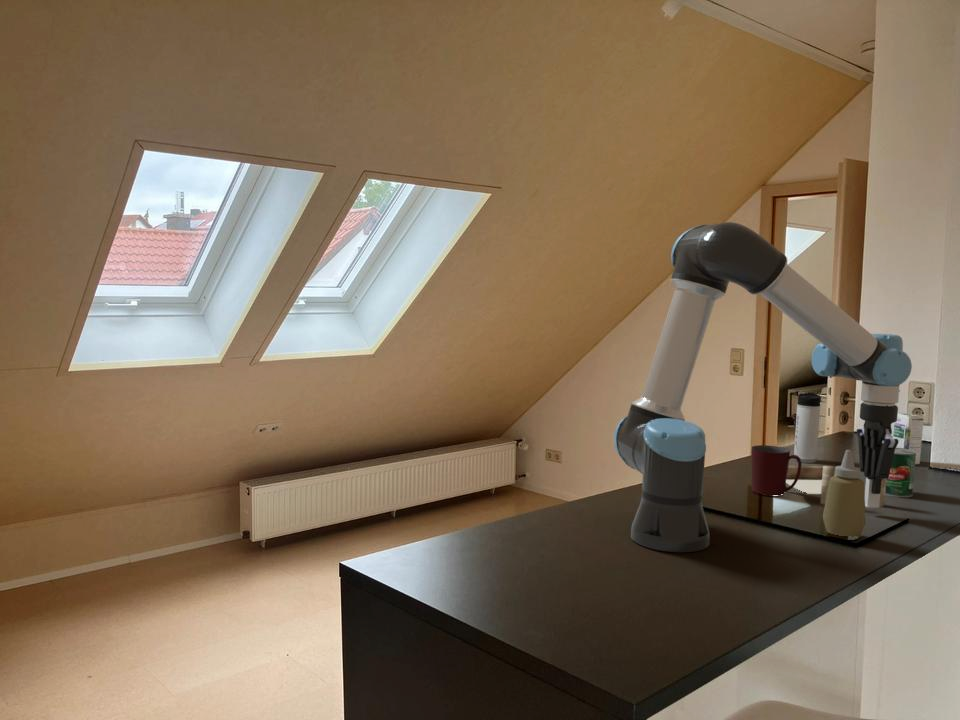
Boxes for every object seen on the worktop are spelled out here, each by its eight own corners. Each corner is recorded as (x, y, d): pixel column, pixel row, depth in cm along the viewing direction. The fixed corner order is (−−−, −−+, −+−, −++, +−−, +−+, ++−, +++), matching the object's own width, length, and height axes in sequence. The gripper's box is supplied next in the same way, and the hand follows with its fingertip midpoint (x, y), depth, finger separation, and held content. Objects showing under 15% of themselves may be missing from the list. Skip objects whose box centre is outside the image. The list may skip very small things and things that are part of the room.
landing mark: (805, 494, 196) (805, 493, 196) (781, 480, 210) (781, 479, 210) (860, 494, 197) (860, 494, 197) (832, 480, 211) (832, 480, 211)
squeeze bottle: (869, 545, 158) (876, 456, 156) (826, 541, 160) (832, 453, 158) (858, 532, 166) (864, 447, 164) (817, 529, 168) (823, 445, 166)
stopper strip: (774, 478, 212) (774, 467, 212) (770, 476, 214) (771, 465, 214) (832, 479, 213) (833, 468, 213) (828, 477, 215) (829, 466, 215)
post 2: (875, 506, 187) (878, 468, 186) (869, 503, 189) (872, 466, 188) (886, 506, 187) (889, 469, 186) (880, 503, 190) (883, 466, 189)
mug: (805, 495, 195) (808, 451, 194) (791, 502, 188) (794, 456, 187) (758, 486, 203) (760, 443, 202) (742, 492, 197) (745, 448, 196)
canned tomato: (881, 495, 197) (885, 452, 196) (874, 488, 204) (877, 446, 203) (916, 498, 195) (920, 454, 194) (907, 490, 203) (911, 448, 202)
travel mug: (818, 460, 236) (822, 393, 234) (814, 464, 231) (819, 395, 229) (796, 457, 240) (800, 391, 238) (791, 461, 234) (796, 393, 232)
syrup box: (889, 461, 238) (893, 413, 236) (905, 460, 240) (908, 412, 238) (904, 465, 232) (908, 416, 231) (920, 464, 234) (924, 415, 233)
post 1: (823, 506, 186) (826, 468, 185) (818, 502, 189) (820, 465, 188) (834, 506, 186) (837, 468, 185) (829, 503, 189) (831, 465, 188)
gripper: (913, 408, 171) (904, 515, 173) (879, 399, 184) (871, 498, 186) (879, 407, 171) (871, 514, 173) (847, 398, 184) (840, 498, 186)
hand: (871, 506), depth 180 cm, fingers closed
